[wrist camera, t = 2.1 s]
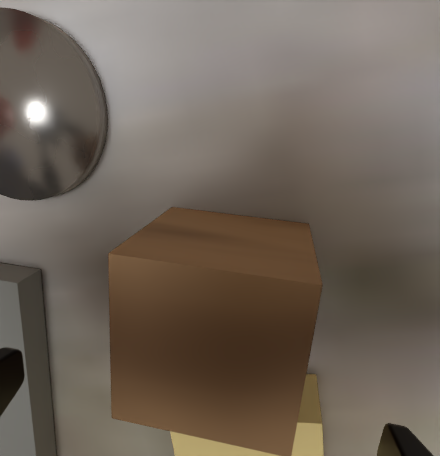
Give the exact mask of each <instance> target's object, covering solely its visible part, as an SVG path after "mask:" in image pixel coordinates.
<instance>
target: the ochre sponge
mask: <svg viewBox="0 0 440 456" xmlns="http://www.w3.org/2000/svg"><path fill="white" fill-rule="evenodd" d="M170 432H171V438H172V443H173V448H174V454H175V456H279V455H275V454H270V453H266V452H261V451H257V450H252V449H248V448H243V447H239V446H234V445H230V444H225V443H221V442H217V441H212V440H208V439H203V438H199V437H194V436H190V435H185V434H181V433H176V432H172V431H170ZM291 456H323V432H322V419H321V410H320V402H319V394H318V385H317V377H316V375H315V374H306V378H305V384H304V389H303V395H302V400H301V405H300V411H299V416H298V422H297V427H296V433H295V438H294V444H293V449H292V455H291Z"/></svg>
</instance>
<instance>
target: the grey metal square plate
mask: <svg viewBox="0 0 440 456" xmlns="http://www.w3.org/2000/svg"><path fill="white" fill-rule="evenodd" d="M4 347H9V348H14V349H19V350H20V351H21V352H22V355H23V364H24V373H25V377H24V381H23V384H22V386H21V387H20V389H19V390H18V392H17V393H16V395H15V396H14V398H13V399H12V401H11V402H10V404H9V405H8V406H7V408H6V409H5V411H4V412H3V414H2V415H1V417H0V456H57V455H56V444H55V432H54V420H53V409H52V397H51V385H50V374H49V362H48V350H47V338H46V327H45V315H44V303H43V292H42V280H41V269H36V268H29V267H23V266H17V265H11V264H4V263H0V349H1V348H4Z"/></svg>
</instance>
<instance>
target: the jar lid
mask: <svg viewBox="0 0 440 456" xmlns="http://www.w3.org/2000/svg"><path fill="white" fill-rule="evenodd" d="M107 128H108V114H107V104H106V99H105V94H104V91H103V88H102V84H101V81H100V79H99V77H98V74H97V72H96V70H95V68H94V66H93V65H92V63H91V61H90V59H89V58H88V57H87V55H86V54H85V52H84V51H83V50H82V48H81V47H80V46H79V45H78V44H77V43H76V42H75V41H74V40H73V39H72V38H71V37H70V36H69V35H67V34H66V33H65V32H64V31H63V30H61V29H59V28H58V27H56V26H55V25H53V24H51V23H49V22H47V21H45V20H42V19H40V18H38V17H35V16H33V15H31V14H28V13H26V12H23V11H19V10H16V9H10V8H0V194H1V195H4V196H7V197H10V198H14V199H19V200H41V199H45V198H49V197H52V196H55V195H59V194H62V193H64V192H67V191H69V190H71V189H73V188H75V187H76V186H78V185H79V184H81V183H82V182H83V181H84V180H85V179H86V178H87V177H88V176H89V175H90V174H91V172H92V171H93V170H94V168H95V167H96V165H97V163H98V162H99V159H100V157H101V155H102V152H103V149H104V146H105V142H106V136H107Z"/></svg>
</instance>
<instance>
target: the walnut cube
mask: <svg viewBox="0 0 440 456" xmlns="http://www.w3.org/2000/svg"><path fill="white" fill-rule="evenodd" d="M108 267H109V315H110V363H111V410H112V418H113V419H118V420H122V421H127V422H131V423H136V424H140V425H145V426H149V427H154V428H158V429H163V430H167V431H172V432H176V433H181V434H185V435H190V436H194V437H199V438H203V439H208V440H212V441H217V442H221V443H225V444H230V445H234V446H239V447H243V448H248V449H252V450H257V451H261V452H266V453H270V454H275V455H279V456H291V455H292V449H293V444H294V438H295V433H296V427H297V422H298V416H299V411H300V405H301V400H302V395H303V389H304V384H305V378H306V373H307V367H308V362H309V356H310V351H311V345H312V340H313V334H314V329H315V324H316V318H317V313H318V307H319V302H320V296H321V291H322V280H321V276H320V271H319V267H318V262H317V258H316V254H315V249H314V245H313V240H312V236H311V231H310V227H309V224H307V223H299V222H290V221H282V220H274V219H266V218H258V217H249V216H241V215H233V214H225V213H217V212H209V211H200V210H192V209H184V208H176V207H171V208H170V209H169V210H167V211H166V212H165V213H163V214H162V215H160V216H159V217H158V218H156V219H155V220H154V221H152V222H151V223H149V224H148V225H147V226H145V227H144V228H143V229H141V230H140V231H138V232H137V233H136V234H134V235H133V236H132V237H130V238H129V239H127V240H126V241H125V242H123V243H122V244H121V245H119V246H118V247H116V248H115V249H114V250H112V251H111V252H110V253H108Z"/></svg>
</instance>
